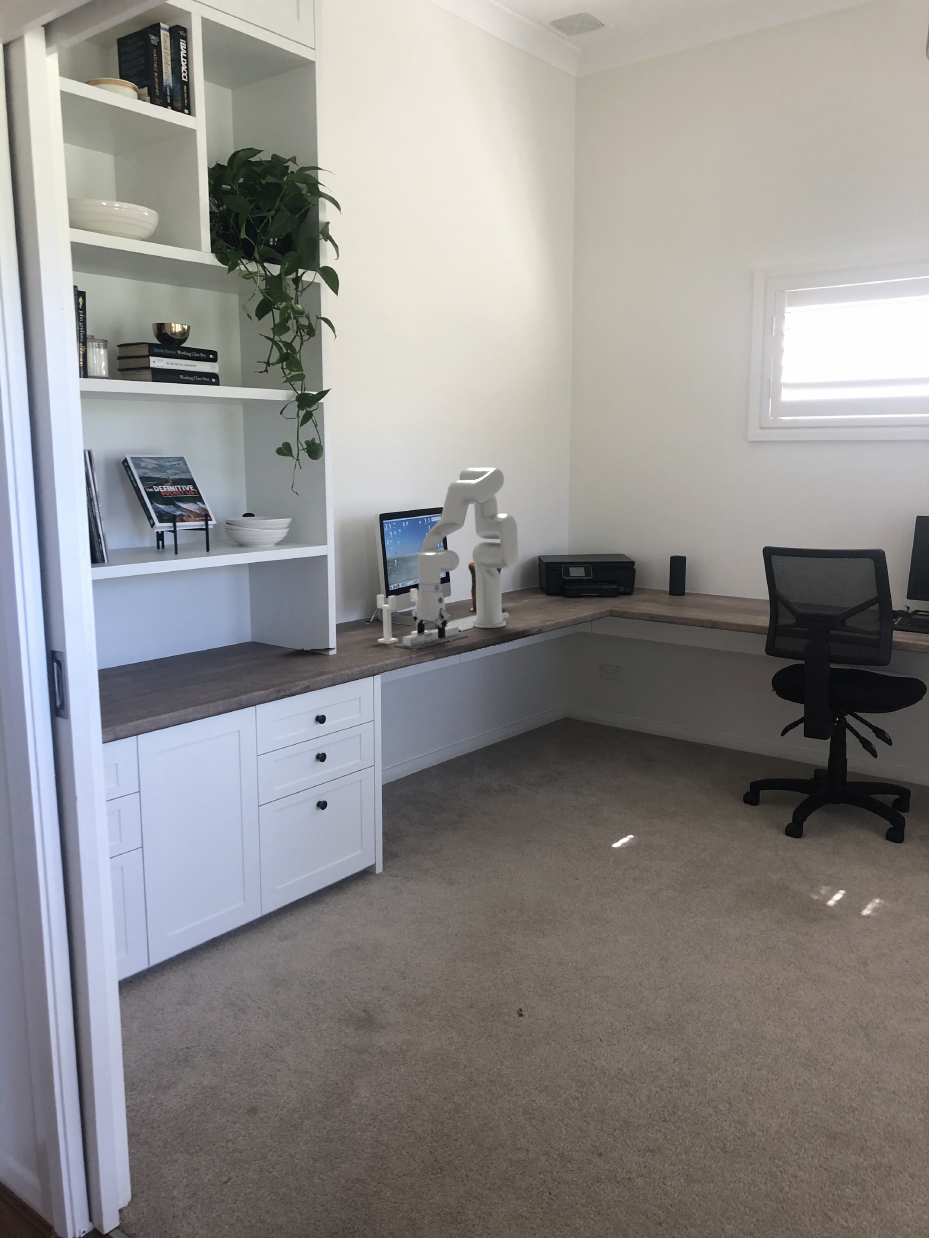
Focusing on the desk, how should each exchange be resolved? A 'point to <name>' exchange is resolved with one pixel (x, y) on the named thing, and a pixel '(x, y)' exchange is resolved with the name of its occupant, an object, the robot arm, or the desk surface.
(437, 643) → the mat
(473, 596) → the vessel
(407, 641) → the rail
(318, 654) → the desk surface
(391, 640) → the hook standards
